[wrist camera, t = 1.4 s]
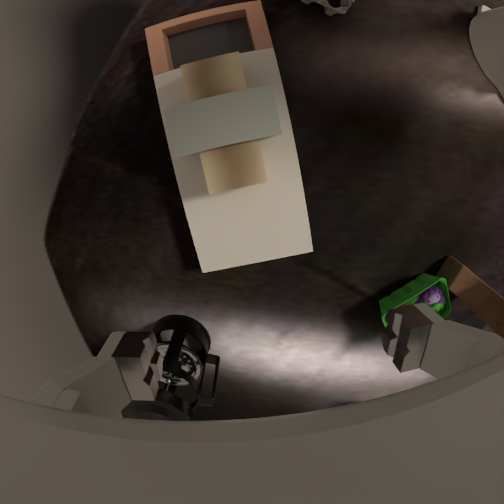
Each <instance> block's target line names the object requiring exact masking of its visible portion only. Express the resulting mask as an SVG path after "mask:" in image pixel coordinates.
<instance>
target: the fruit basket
mask: <svg viewBox="0 0 504 504" xmlns="http://www.w3.org/2000/svg"><path fill="white" fill-rule="evenodd" d="M420 302H422V303H425V304H426V305H428V306H429V307H430V308H431V309H432V310H433V311H435V312H436V313H437V314H438V315H439V316H440V317H442V318H444V317H446V316H447V315H448V314H449V313H450V312H451V304H450V298H449V292H448V287H447V283H446V279H445V278H441V277H435V276H432V275H429V274H426V273H423V274H421V275H420V276H418V277H417V278H416V279H415V280H412V281H410V282H409V283H407V284H406V285H404V286H403V288H399V289H398V290H396V291H394V292H393V293H391V294H390V296H386V297H384V298H382V299H381V300H379V305H380V309H381V313H382V315H381V317H382V321H383V323H384V326H385V328H386V326H387V323H386V321H385V316H386V313H387V310H389V309H394V308H399V307H403V306H408V305H412V304H416V303H420Z"/></svg>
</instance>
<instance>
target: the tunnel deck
mask: <svg viewBox="0 0 504 504" xmlns="http://www.w3.org/2000/svg"><path fill="white" fill-rule="evenodd" d="M145 33H146V39H147V45H148V50H149V56H150V61H151V66H152V72H153V77H154V82H155V87H156V92H157V96H158V101H159V106H160V111H161V115H162V120H163V124H164V129H165V133H166V137H167V142H168V146H169V150H170V154H171V158H172V162H173V167H174V171H175V175H176V179H177V183H178V186H179V190H180V194H181V198H182V202H183V205H184V209H185V213H186V217H187V220H188V224H189V228H190V231H191V235H192V238H193V242H194V245H195V249H196V252H197V256H198V259H199V262H200V266H201V269H202V273H205V272H210V271H215V270H221V269H226V268H231V267H236V266H242V265H247V264H252V263H257V262H262V261H267V260H273V259H278V258H283V257H288V256H293V255H298V254H303V253H308V252H313V247H312V240H311V234H310V227H309V220H308V214H307V208H306V202H305V196H304V190H303V184H302V178H301V173H300V167H299V162H298V156H297V151H296V146H295V141H294V136H293V131H292V126H291V121H290V117H289V112H288V107H287V103H286V98H285V94H284V89H283V85H282V81H281V77H280V72H279V68H278V64H277V60H276V56H275V52H274V48H273V44H272V40H271V37H270V33H269V29H268V26H267V22H266V18H265V15H264V11H263V8H262V4H261V1H260V0H258V1H251V2H244V3H239V4H233V5H228V6H223V7H218V8H214V9H209V10H205V11H201V12H197V13H193V14H189V15H186V16H182V17H179V18H175V19H172V20H169V21H166V22H163V23H160V24H157V25H154V26H151V27H148V28H145ZM238 51H239V54H240V59H241V63H242V67H243V71H244V76H245V80H246V84H247V89H244V90H239V91H234V92H230V93H225V94H221V95H216V96H212V97H208V98H204V99H200V100H197V101H193V102H189V103H188V101H187V96H186V92H185V87H184V82H183V78H182V73H181V68H180V66H181V65H184V64H188V63H191V62H195V61H199V60H203V59H207V58H211V57H215V56H219V55H224V54H228V53H233V52H238ZM254 139H259V143H260V148H261V152H262V157H263V162H264V167H265V172H266V177H267V182H266V183H261V184H256V185H251V186H246V187H242V188H237V189H232V190H228V191H223V192H219V193H214V194H210V195H209V191H208V187H207V183H206V179H205V175H204V171H203V166H202V162H201V158H200V154H199V152H201V151H205V150H209V149H213V148H217V147H221V146H226V145H230V144H235V143H239V142H244V141H249V140H254Z"/></svg>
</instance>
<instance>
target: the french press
mask: <svg viewBox="0 0 504 504" xmlns="http://www.w3.org/2000/svg"><path fill="white" fill-rule="evenodd" d="M169 329H174V332H173V335H172V338H171V340H170V341H168V342H161V339H160V334H161V331H163V330H169ZM186 332H187V333H189V334H191V335H192V336H194V337H195V338H197V339H198V340H199V341H200V343H201V344H202V347H201V349H200V351H199V352H198V353H195V352H194V351H192V350H191V349H190V348H188V347H187V346H185V345H183V342H184V339H185V335H186ZM153 333H154V334H155V336H156V339H157V345H156V348H155V349H156V350H157V351H158V352H159V353H160V354H161V358H162V364H163V372H162V377H161V379H160V380H161V381H163V382H165V387H164V390H160V389H158V391H157V395H156V398H155V401H146V400H131V402H130V403H129V404H128V405H127V406H126V407H125V408H124V409H123V410H122V411H121V413H122V416H123V418H130V419H143V420H162V421H193V412H192V410H194V409H195V408H196V407H197V406H198V404H199V405H204V406H209V407H212V406H213V404H214V400H215V396H216V387H217V379H218V370H219V362H220V357H219V356H217V355H212V354H208V351H209V349H210V344H211V340H210V336H209V333H208V331H207V330H206V328H205V327H204V326H203V325H202V324H201V323H199V322H198V321H197V320H195V319H193V318H190V317H187V316H184V315H169V316H166V317H164V318H162V319H160V320H159V321H158V322H157V323H156V325H155V327H154V329H153ZM206 363H210V364H214V365H216V367H215V375H214V382H213V390H212V397H207V396H202V395H200V394H201V388H202V382H203V377H204V371H205V365H206ZM202 366H203V368H202ZM202 370H203V371H202ZM201 375H202V376H201ZM200 377H201V382H200V386H199V384H198V382H197V380H198V379H199V378H200ZM189 384H190V385H191V386H192V387H193V388H194V389H195V391H196V393H197V396H198V398H197V399H196V401H195V402H193V403H192V404H190V405H188V404H187V403H186V402H185V401H184V400H183V399H181V398H180V397H178V396H176V395H174V394H175V391H176V387H177V385H179V386H183V385H189Z"/></svg>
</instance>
